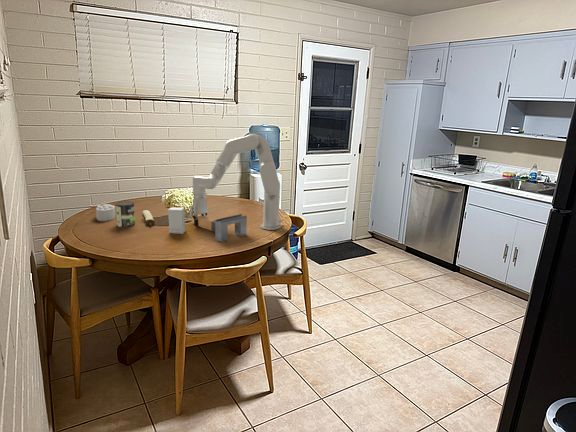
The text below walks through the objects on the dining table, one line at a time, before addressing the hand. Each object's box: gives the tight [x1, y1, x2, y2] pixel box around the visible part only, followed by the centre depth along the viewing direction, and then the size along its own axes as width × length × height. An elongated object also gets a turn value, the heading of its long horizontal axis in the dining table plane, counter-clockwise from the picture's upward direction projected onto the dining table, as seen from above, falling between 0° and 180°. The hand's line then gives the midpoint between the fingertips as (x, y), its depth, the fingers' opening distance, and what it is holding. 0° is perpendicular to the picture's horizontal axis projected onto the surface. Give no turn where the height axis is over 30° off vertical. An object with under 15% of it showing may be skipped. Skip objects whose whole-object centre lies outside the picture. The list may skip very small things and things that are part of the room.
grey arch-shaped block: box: [214, 213, 248, 243], centre depth 226 cm, size 19×5×12 cm, turn 139°
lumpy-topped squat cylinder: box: [95, 203, 116, 222], centre depth 250 cm, size 10×13×9 cm
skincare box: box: [167, 206, 186, 235], centre depth 229 cm, size 8×6×15 cm
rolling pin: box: [142, 209, 155, 227], centre depth 249 cm, size 32×6×5 cm, turn 23°
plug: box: [191, 214, 215, 233], centre depth 240 cm, size 5×26×6 cm, turn 49°
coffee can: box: [115, 200, 136, 228], centre depth 237 cm, size 10×10×14 cm
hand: (199, 224), depth 245 cm, fingers closed on plug, 4 cm apart
